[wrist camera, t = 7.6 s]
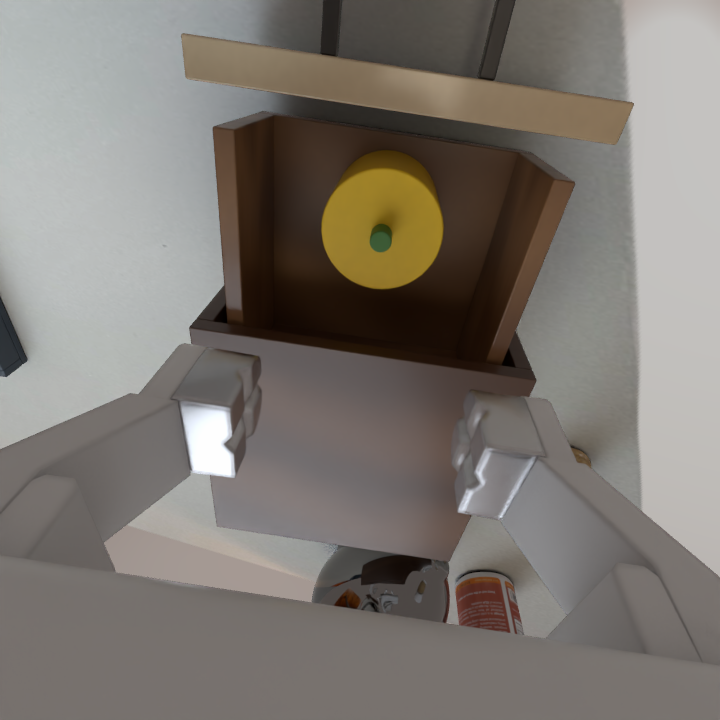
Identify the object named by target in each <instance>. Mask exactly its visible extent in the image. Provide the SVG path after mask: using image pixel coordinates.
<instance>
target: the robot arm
mask: <svg viewBox="0 0 720 720" xmlns="http://www.w3.org/2000/svg"><path fill="white" fill-rule="evenodd" d="M261 373H262V370H261V359H260V357H259V356H257V355H251V354H245V353H240V352H234V351H228V350H223V349H217V348H211V347H210V348H208V347H205V346H199V345H192V344H186V343H184V344H181V345H179V346H178V347H177V348H176V349H175V351H174V352H173V353H172V354H171V355H170V357H169V358H168V359H167V360H166V361H165V363H164V364H163V365H162V366H161V368H160V369H159V370H158V371H157V372H156V374H155V375H154V376H153V377H152V379H151V380H150V381H149V382H148V383H147V385H146V386H145V387H144V388H143V390H142V391H141V392H140V393H139V394H131V393H130V394H128V395H125V396H123V397H121V398H118V399H116V400H114V401H111V402H109V403H107V404H104V405H102V406H100V407H97V408H95V409H93V410H90V411H88V412H86V413H84V414H81V415H79V416H77V417H74V418H72V419H70V420H67V421H65V422H63V423H60V424H58V425H56V426H53V427H51V428H49V429H46V430H44V431H42V432H39V433H37V434H35V435H33V436H30V437H28V438H26V439H23V440H21V441H19V442H16V443H14V444H12V445H9V446H7V447H5V448H2V449H0V720H720V577H719V576H718V575H717V574H716V573H714V572H713V571H712V570H711V569H710V568H708V567H707V566H706V565H705V564H704V563H702V562H701V561H700V560H699V559H698V558H696V557H695V556H694V555H693V554H692V553H690V552H689V551H688V550H687V549H686V548H685V547H683V546H682V545H681V544H680V543H679V542H678V541H676V540H675V539H674V538H673V537H672V536H670V535H669V534H668V533H667V532H666V531H665V530H663V529H662V528H661V527H660V526H659V525H657V524H656V523H655V522H654V521H653V520H651V519H650V518H649V517H648V516H647V515H645V514H644V513H643V512H642V511H641V510H640V509H638V508H637V507H636V506H635V505H634V504H633V503H631V502H630V501H629V500H628V499H627V498H625V497H624V496H623V495H622V494H621V493H619V492H618V491H617V490H616V489H615V488H614V487H612V486H611V485H610V484H609V483H608V482H606V481H605V480H604V479H603V478H602V477H601V476H599V475H598V474H597V473H596V472H595V471H593V470H592V469H591V468H590V467H589V466H587V465H586V464H583V463H577V461H576V458H575V456H574V454H573V452H572V449H571V447H570V445H569V443H568V440H567V438H566V436H565V434H564V431H563V429H562V427H561V425H560V423H559V420H558V418H557V416H556V414H555V411H554V409H553V407H552V405H551V403H550V402H549V401H548V400H547V399H541V398H534V397H526V396H520V397H519V396H512V395H506V394H499V393H493V392H486V391H479V390H473V389H470V390H469V392H468V393H467V394H466V397H465V400H464V402H463V409H464V416H463V417H461V418H460V419H458V420H457V421H456V424H455V427H454V430H453V434H452V441H451V463H452V466H453V467H454V468H455V470H456V471H457V472H458V474H457V477H456V479H455V482H454V488H455V496H456V504H457V512H458V513H463V514H469V515H474V516H479V517H485V518H490V519H496V520H501V521H502V522H501V523H502V525H503V526H504V527H505V529H506V530H507V532H508V533H509V534H510V536H511V537H512V539H513V540H514V542H515V543H516V544H517V546H518V547H519V549H520V550H521V551H522V553H523V554H524V556H525V557H526V558H527V560H528V561H529V563H530V564H531V566H532V567H533V568H534V570H535V571H536V573H537V574H538V575H539V577H540V578H541V580H542V581H543V582H544V584H545V585H546V587H547V588H548V590H549V591H550V592H551V594H552V595H553V597H554V598H555V599H556V601H557V602H558V604H559V605H560V606H561V608H562V609H563V611H564V612H565V613H566V615H567V616H566V617H565V618H564V619H563V620H562V621H561V622H560V624H559V625H558V626H557V627H556V628H555V629H554V630H553V631H552V632H551V633H550V634H549V635H548V637H547V638H546V639H545V638H539V637H532V636H526V635H519V634H513V633H506V632H500V631H493V630H487V629H480V628H474V627H467V626H461V625H455V624H448V623H442V622H435V621H429V620H422V619H416V618H409V617H403V616H396V615H390V614H383V613H377V612H370V611H364V610H357V609H351V608H344V607H338V606H331V605H325V604H318V603H312V602H305V601H298V600H292V599H285V598H279V597H272V596H266V595H260V594H253V593H247V592H240V591H233V590H227V589H220V588H213V587H207V586H201V585H194V584H188V583H181V582H175V581H168V580H161V579H154V578H149V577H142V576H136V575H129V574H123V573H116V572H115V568H114V565H113V563H112V561H111V558H110V556H109V554H108V551H107V549H106V547H105V545H104V542H105V541H106V540H108V539H109V538H110V537H111V536H113V535H114V534H115V533H117V532H118V531H119V530H121V529H122V528H123V527H124V526H126V525H127V524H128V523H130V522H131V521H132V520H133V519H135V518H136V517H137V516H138V515H140V514H141V513H142V512H144V511H145V510H146V509H147V508H149V507H150V506H151V505H153V504H154V503H155V502H156V501H158V500H159V499H160V498H162V497H163V496H164V495H165V494H167V493H168V492H169V491H171V490H172V489H173V488H174V487H176V486H177V485H178V484H180V483H181V482H182V481H183V480H185V479H186V478H187V477H189V476H190V472H191V473H199V474H207V475H215V476H223V477H231V478H235V477H236V475H237V473H238V470H239V468H240V466H241V463H242V461H243V458H244V456H245V454H246V439H247V438H249V437H250V436H252V435H253V434H254V432H255V429H256V427H257V424H258V420H259V416H260V412H261V404H262V389H261V388H260V387H259V386H258V384H257V382H258V380H259V378H260V376H261Z"/></svg>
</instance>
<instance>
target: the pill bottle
mask: <svg viewBox="0 0 720 720" xmlns="http://www.w3.org/2000/svg"><path fill="white" fill-rule="evenodd" d="M455 590H456V601H457V609H458V618H459V625H461V626H467V627H474V628H480V629H487V630H493V631H500V632H506V633H513V634H519V635H524V632H523V628H522V623H521V619H520V614H519V609H518V605H517V600H516V596H515V591H514V587H513V584H512V582H511V581H510V580H509V579H508V578H507V577H505V576H503V575H501V574H497V573H493V572H475V573H470V574H467V575H465V576H463V577H462V578H460V579H459V580H458V582H457V584H456V588H455Z"/></svg>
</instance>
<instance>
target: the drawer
mask: <svg viewBox="0 0 720 720" xmlns="http://www.w3.org/2000/svg"><path fill="white" fill-rule="evenodd" d="M515 1H516V0H496V1H495V5H494V9H493V13H492V18H491V22H490V26H489V30H488V34H487V38H486V43H485V47H484V51H483V55H482V59H481V63H480V67H479V72H478V76H477V77H478V78H479V79H478V78H472V77H465V76H459V75H452V74H446V73H439V72H433V71H426V70H420V69H414V68H407V67H401V66H394V65H388V64H381V63H375V62H368V61H362V60H355V59H349V58H342V57H337V56H338V48H339V35H340V22H341V8H342V0H323V15H322V34H321V54H316V53H310V52H303V51H297V50H290V49H284V48H277V47H271V46H264V45H258V44H251V43H245V42H238V41H232V40H225V39H218V38H212V37H205V36H198V35H192V34H185V33H183V34H181V38H182V47H183V57H184V67H185V76H186V78H187V79H190V80H196V81H203V82H209V83H216V84H222V85H229V86H235V87H242V88H248V89H255V90H261V91H268V92H274V93H281V94H287V95H294V96H300V97H307V98H313V99H320V100H326V101H333V102H339V103H346V104H352V105H359V106H365V107H372V108H378V109H385V110H391V111H398V112H404V113H411V114H417V115H424V116H430V117H437V118H443V119H450V120H456V121H463V122H469V123H476V124H482V125H489V126H495V127H501V128H508V129H514V130H521V131H527V132H534V133H540V134H547V135H553V136H560V137H566V138H573V139H579V140H586V141H592V142H599V143H605V144H612V145H615V144H617V142H618V140H619V137H620V135H621V133H622V131H623V128H624V126H625V124H626V122H627V119H628V117H629V115H630V112H631V110H632V108H633V106H634V103H632V102H626V101H620V100H613V99H607V98H601V97H594V96H588V95H582V94H575V93H569V92H563V91H556V90H550V89H543V88H537V87H530V86H524V85H517V84H511V83H504V82H498V81H493V80H494V79H495V77H496V73H497V69H498V65H499V62H500V58H501V54H502V50H503V46H504V43H505V39H506V35H507V31H508V27H509V23H510V20H511V16H512V12H513V8H514V4H515ZM213 139H214V152H215V166H216V179H217V192H218V206H219V219H220V232H221V245H222V259H223V272H224V285H225V298H226V312H227V324H233V325H239V326H246V327H252V328H259V329H265V330H272V331H279V332H285V333H292V334H298V335H305V336H311V337H318V338H324V339H331V340H337V341H344V342H350V343H357V344H364V345H370V346H377V347H383V348H390V349H396V350H403V351H409V352H416V353H422V354H429V355H435V356H442V357H449V358H455V359H462V360H468V361H475V362H481V363H488V364H494V365H502V362H503V360H504V357H505V355H506V352H507V350H508V348H509V345H510V343H511V340H512V338H513V335H514V333H515V330H516V328H517V325H518V323H519V321H520V318H521V316H522V313H523V311H524V308H525V306H526V303H527V301H528V298H529V296H530V294H531V291H532V289H533V286H534V284H535V281H536V279H537V276H538V274H539V272H540V269H541V267H542V264H543V262H544V259H545V257H546V254H547V252H548V249H549V247H550V245H551V242H552V240H553V237H554V235H555V232H556V230H557V227H558V225H559V222H560V220H561V218H562V215H563V213H564V210H565V208H566V205H567V203H568V200H569V198H570V196H571V193H572V191H573V188H574V186H575V182H574V181H572V180H571V179H569V178H568V177H566V176H565V175H563V174H562V173H560V172H559V171H558V170H556V169H555V168H553V167H552V166H550V165H549V164H547V163H546V162H544V161H543V160H541V159H540V158H538V157H537V156H535V155H534V154H533V153H531V152H526V151H520V150H513V149H507V148H500V147H494V146H487V145H481V144H474V143H468V142H461V141H455V140H448V139H442V138H435V137H429V136H422V135H416V134H409V133H403V132H396V131H390V130H383V129H377V128H370V127H364V126H357V125H351V124H344V123H338V122H331V121H325V120H318V119H312V118H305V117H299V116H292V115H286V114H279V113H273V112H266V111H261V112H258V113H255V114H252V115H249V116H246V117H242V118H239V119H236V120H233V121H230V122H227V123H223V124H220V125H217V126H214V127H213ZM381 150H391V151H397V152H402V153H404V154H407V155H409V156H411V157H412V158H414V159H415V160H417V161H418V162H419V163H420V164H421V165H422V166H423V167H424V168H425V169H426V170H427V172H428V173H429V175H430V176H431V178H432V180H433V183H434V185H435V188H436V192H437V196H438V200H439V204H440V208H441V212H442V216H443V224H444V232H443V240H442V244H441V247H440V250H439V252H438V255H437V257H436V258H435V260H434V262H433V263H432V265H431V266H430V267H429V268H428V269H427V270H426V271H425V272H424V273H423V274H422V275H421V276H420V277H418V278H417V279H415V280H414V281H412V282H410V283H408V284H406V285H403V286H400V287H396V288H391V289H373V288H368V287H364V286H362V285H359V284H357V283H355V282H353V281H351V280H349V279H348V278H346V277H345V276H344V275H343V274H341V273H340V272H339V271H338V269H337V268H336V267H335V266H334V265H333V263H332V262H331V260H330V259H329V257H328V255H327V253H326V250H325V248H324V244H323V240H322V233H321V223H322V216H323V212H324V209H325V206H326V204H327V201H328V200H329V198H330V196H331V194H332V192H333V191H334V189H335V187H336V185H337V184H338V182H339V180H340V178H341V177H342V175H343V173H344V172H345V171H346V169H347V168H348V167H349V166H350V165H351V164H352V163H353V162H355V161H356V160H357V159H359V158H360V157H362V156H364V155H366V154H369V153H371V152H375V151H381Z"/></svg>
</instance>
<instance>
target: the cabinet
mask: <svg viewBox="0 0 720 720" xmlns="http://www.w3.org/2000/svg"><path fill="white" fill-rule="evenodd" d="M189 329H190V336H191V344H192V345H199V346H205V347H208V348H210V347H211V348H217V349H223V350H228V351H234V352H240V353H245V354H251V355H257V356H259V357H260V359H261V370H262V373H261V376H260V378H259V380H258V382H257V384H258V386H259V387H260V388H261V389H262V404H261V412H260V416H259V420H258V424H257V427H256V429H255V432H254V434H253V435H252V436H250V437H249V438H247V439H246V454H245V456H244V458H243V461H242V463H241V466H240V468H239V470H238V473H237V475H236V477H235V478H231V477H223V476H215V475H210V480H211V487H212V494H213V501H214V508H215V516H216V523H217V527H223V528H230V529H236V530H243V531H250V532H256V533H263V534H269V535H276V536H283V537H289V538H296V539H302V540H309V541H315V542H322V543H329V544H335V545H342V546H348V547H355V548H362V549H368V550H375V551H381V552H388V553H394V554H401V555H408V556H414V557H421V558H427V559H434V560H441V561H447V562H449V561H450V559H451V557H452V554H453V552H454V550H455V548H456V546H457V544H458V542H459V540H460V538H461V536H462V534H463V532H464V530H465V528H466V526H467V523H468V521H469V519H470V517H471V515H469V514H463V513H458V512H457V504H456V496H455V488H454V482H455V479H456V477H457V474H458V472H457V471H456V470H455V468H454V467H453V466H452V463H451V441H452V434H453V430H454V427H455V424H456V421H457V420H458V419H460V418H461V417H463V416H464V409H463V402H464V400H465V397H466V394H467V393H468V392H469V390H470V389H473V390H479V391H486V392H493V393H499V394H506V395H512V396H519V397H520V396H526V397H529V395H530V393H531V391H532V389H533V387H534V385H535V383H536V378H535V375H534V373H533V371H532V368H531V366H530V364H529V361H528V359H527V357H526V354H525V352H524V350H523V347H522V345H521V342H520V340H519V338H518V335H517V333H516V331H515V333H514V335H513V338H512V340H511V343H510V345H509V348H508V350H507V352H506V355H505V357H504V360H503V362H502V365H494V364H488V363H481V362H475V361H468V360H462V359H455V358H449V357H442V356H435V355H429V354H422V353H416V352H409V351H403V350H396V349H390V348H383V347H377V346H370V345H364V344H357V343H350V342H344V341H337V340H331V339H324V338H318V337H311V336H305V335H298V334H292V333H285V332H279V331H272V330H265V329H259V328H252V327H246V326H239V325H233V324H227V312H226V298H225V285H224V286H223V287H222V288H221V290H220V291H219V292H218V293H217V295H216V296H215V297H214V298H213V299H212V301H211V302H210V303H209V304H208V306H207V307H206V308H205V309H204V310H203V312H202V313H201V314H200V315H199V316H198V318H197V319H196V320H195V321H194V322H193V324H192V325H191V326H190V327H189Z"/></svg>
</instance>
